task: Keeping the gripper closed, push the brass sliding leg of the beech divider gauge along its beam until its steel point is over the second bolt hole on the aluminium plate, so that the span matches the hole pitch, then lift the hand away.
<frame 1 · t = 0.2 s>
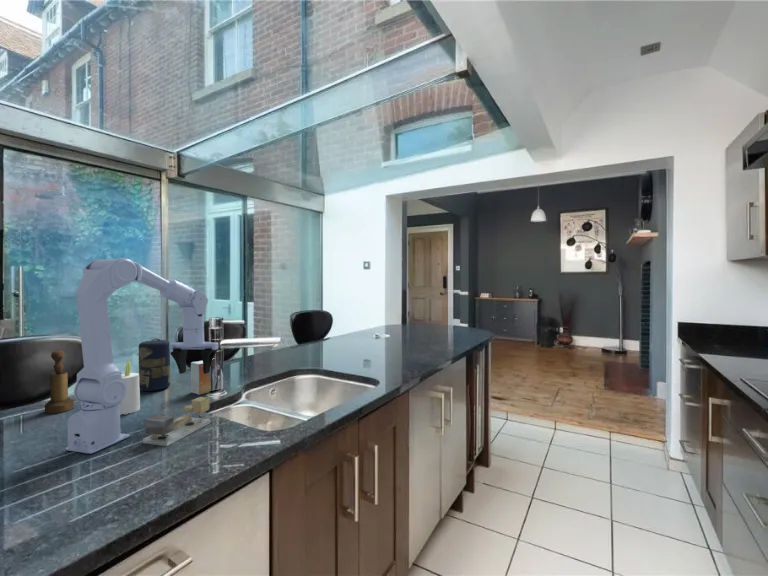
hand: (194, 372, 113), 10 cm above the worktop, tool pointing down, fingers open, 7 cm apart
small box: (206, 391, 127), on the worktop
bolt plate: (180, 432, 92), on the worktop
canister: (155, 389, 131), on the worktop
sliding leg: (196, 407, 99), point 4 cm above the worktop, slide at 4.0 cm
candle: (127, 411, 108), on the worktop
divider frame: (175, 420, 92), on the bolt plate, point 3 cm above the worktop
brown tall knobbed cylinder: (59, 410, 110), on the worktop
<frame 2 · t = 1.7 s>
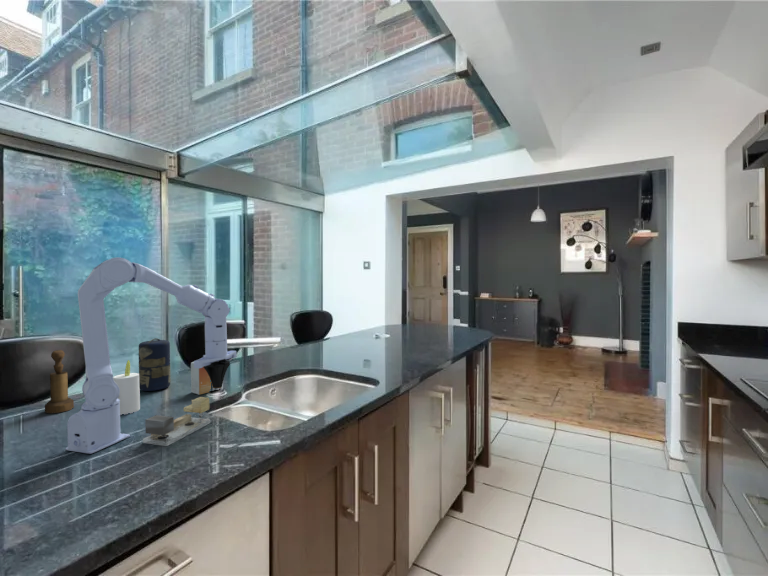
hand: (217, 387, 105), 8 cm above the worktop, tool pointing down, fingers closed
nothing on the worktop moved.
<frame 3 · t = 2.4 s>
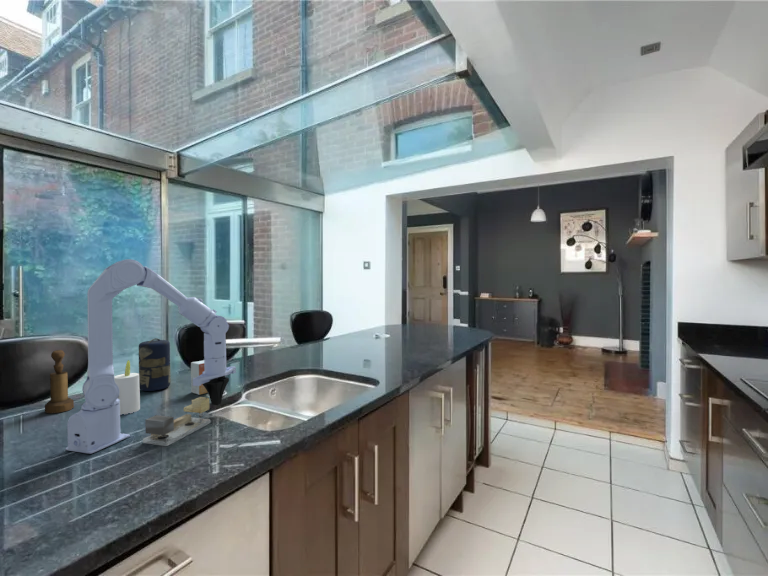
hand: (216, 404, 105), 3 cm above the worktop, tool pointing down, fingers closed
nothing on the worktop moved.
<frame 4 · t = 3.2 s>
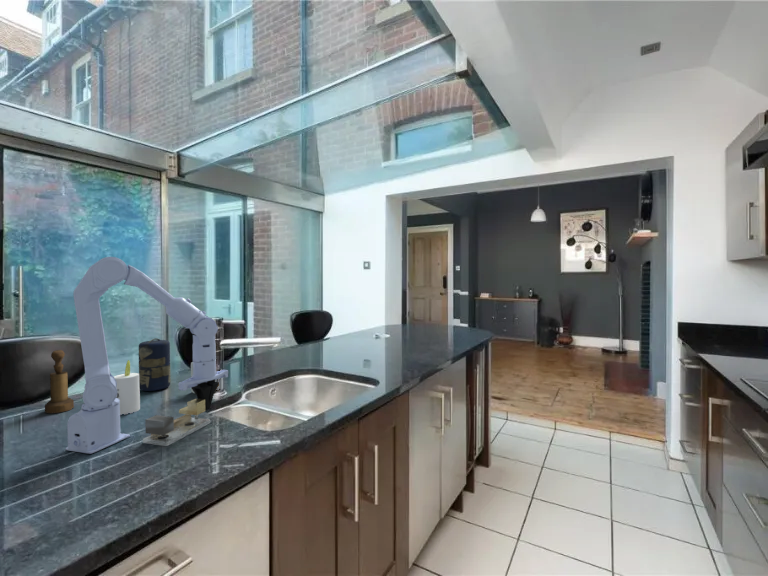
hand: (205, 409, 101), 3 cm above the worktop, tool pointing down, fingers closed
sliding leg: (192, 409, 98), point 4 cm above the worktop, slide at 2.5 cm, touching gripper
everything else where it was.
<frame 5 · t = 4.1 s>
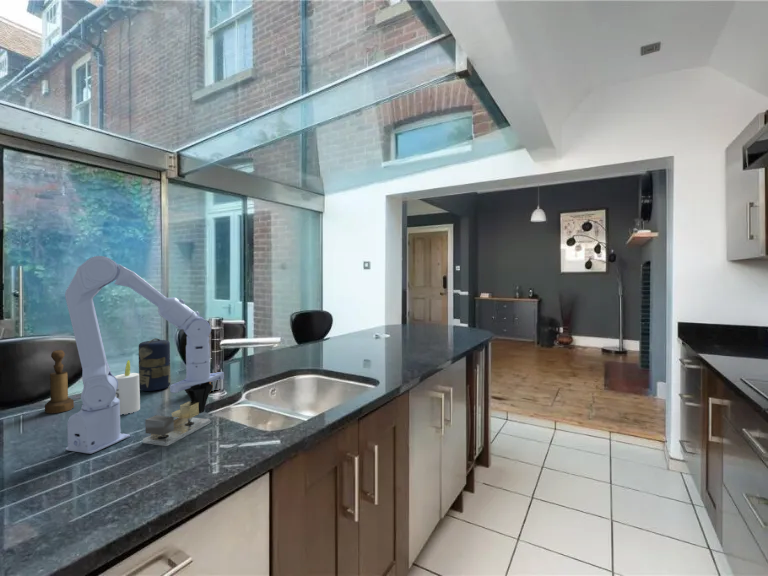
hand: (199, 412, 99), 3 cm above the worktop, tool pointing down, fingers closed
sliding leg: (185, 412, 96), point 4 cm above the worktop, slide at 0.1 cm, touching gripper
everything else where it was.
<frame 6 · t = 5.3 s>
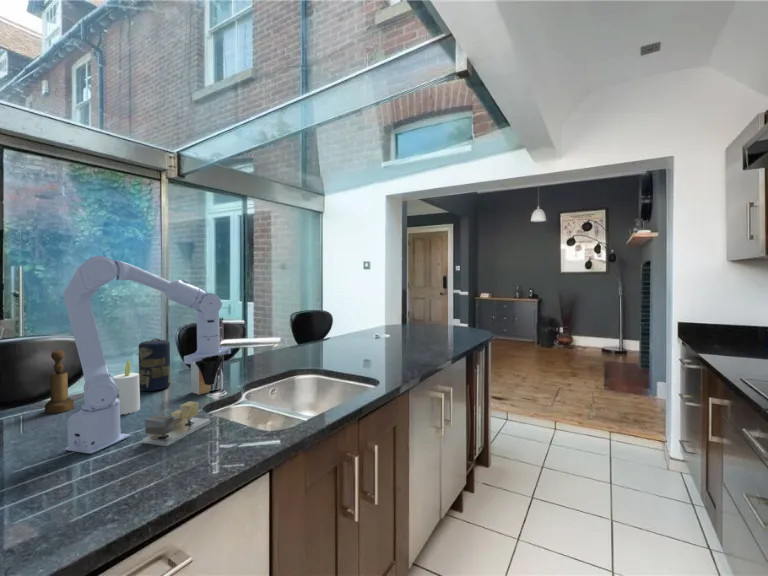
hand: (209, 384, 102), 9 cm above the worktop, tool pointing down, fingers closed
sliding leg: (185, 412, 96), point 4 cm above the worktop, slide at 0.1 cm
everything else where it was.
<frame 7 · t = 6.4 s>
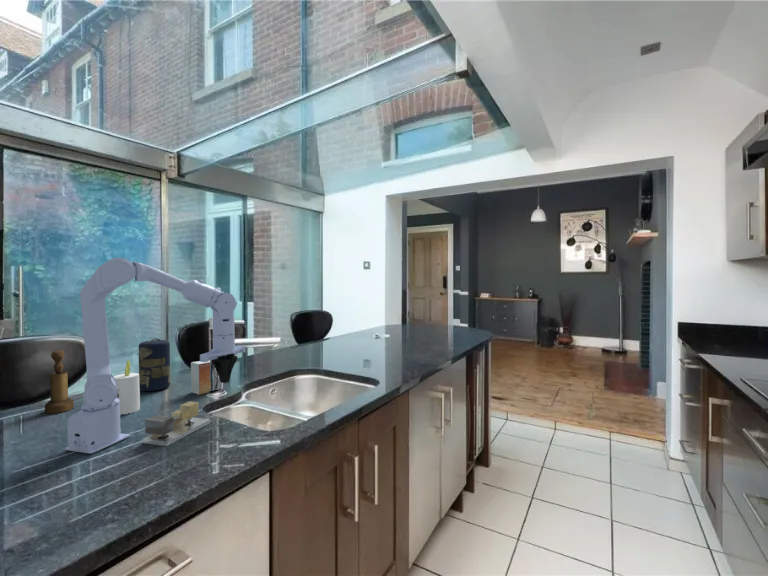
hand: (224, 382, 104), 9 cm above the worktop, tool pointing down, fingers closed
nothing on the worktop moved.
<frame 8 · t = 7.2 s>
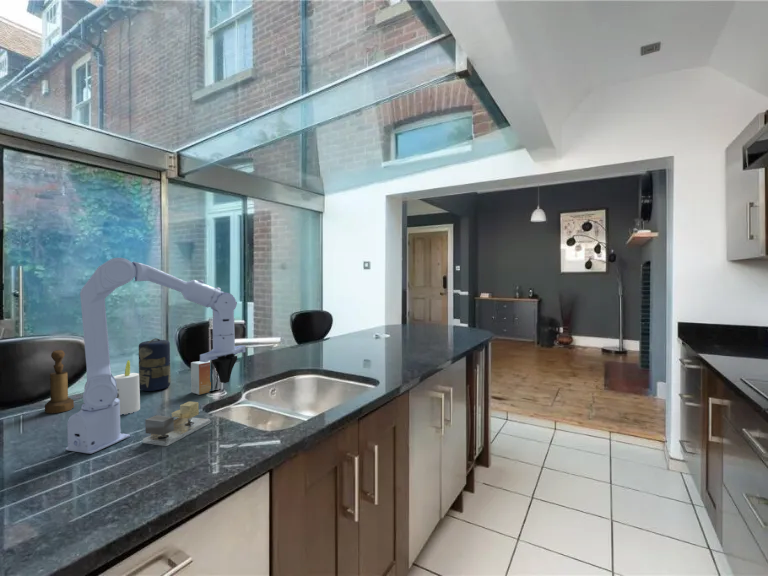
hand: (224, 382, 104), 9 cm above the worktop, tool pointing down, fingers closed
nothing on the worktop moved.
at the end: sliding leg slide at 0.1 cm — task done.
